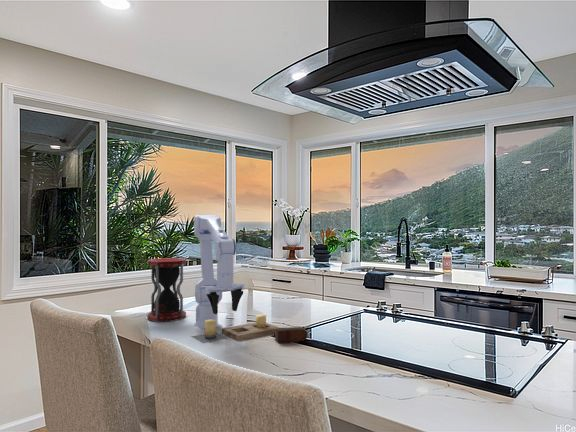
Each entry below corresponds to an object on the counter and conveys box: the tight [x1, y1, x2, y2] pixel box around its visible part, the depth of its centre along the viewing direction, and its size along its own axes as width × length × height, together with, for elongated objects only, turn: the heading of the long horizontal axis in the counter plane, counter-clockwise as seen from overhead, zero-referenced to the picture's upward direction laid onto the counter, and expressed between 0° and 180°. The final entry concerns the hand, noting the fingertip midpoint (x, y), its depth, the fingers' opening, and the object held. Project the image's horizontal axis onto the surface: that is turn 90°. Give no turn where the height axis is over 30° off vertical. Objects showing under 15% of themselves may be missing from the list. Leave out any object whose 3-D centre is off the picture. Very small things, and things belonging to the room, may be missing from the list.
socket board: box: [221, 321, 280, 342], centre depth 154 cm, size 12×18×2 cm, turn 127°
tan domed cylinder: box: [255, 314, 267, 329], centre depth 157 cm, size 4×4×6 cm
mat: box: [190, 331, 229, 344], centre depth 148 cm, size 10×10×1 cm
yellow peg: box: [204, 319, 217, 339], centre depth 147 cm, size 4×4×6 cm
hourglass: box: [146, 257, 187, 323], centre depth 179 cm, size 16×16×25 cm
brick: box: [274, 326, 308, 345], centre depth 144 cm, size 11×4×5 cm, turn 108°
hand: (224, 312), depth 145 cm, fingers open, 7 cm apart
